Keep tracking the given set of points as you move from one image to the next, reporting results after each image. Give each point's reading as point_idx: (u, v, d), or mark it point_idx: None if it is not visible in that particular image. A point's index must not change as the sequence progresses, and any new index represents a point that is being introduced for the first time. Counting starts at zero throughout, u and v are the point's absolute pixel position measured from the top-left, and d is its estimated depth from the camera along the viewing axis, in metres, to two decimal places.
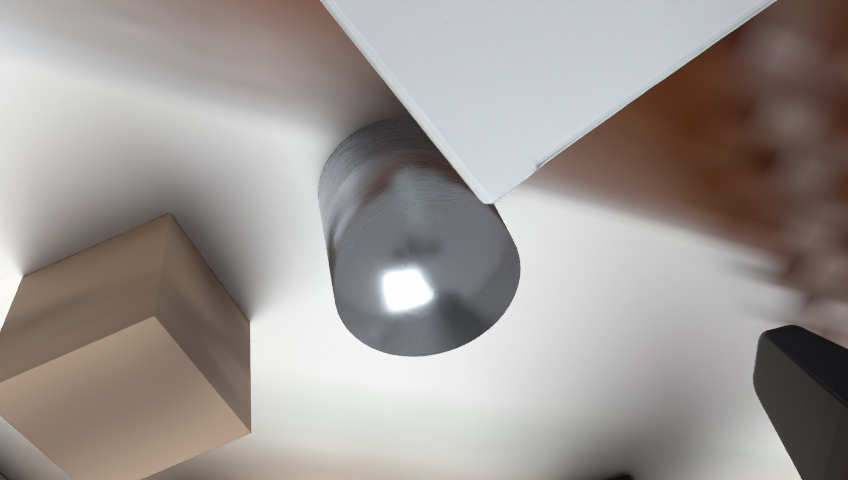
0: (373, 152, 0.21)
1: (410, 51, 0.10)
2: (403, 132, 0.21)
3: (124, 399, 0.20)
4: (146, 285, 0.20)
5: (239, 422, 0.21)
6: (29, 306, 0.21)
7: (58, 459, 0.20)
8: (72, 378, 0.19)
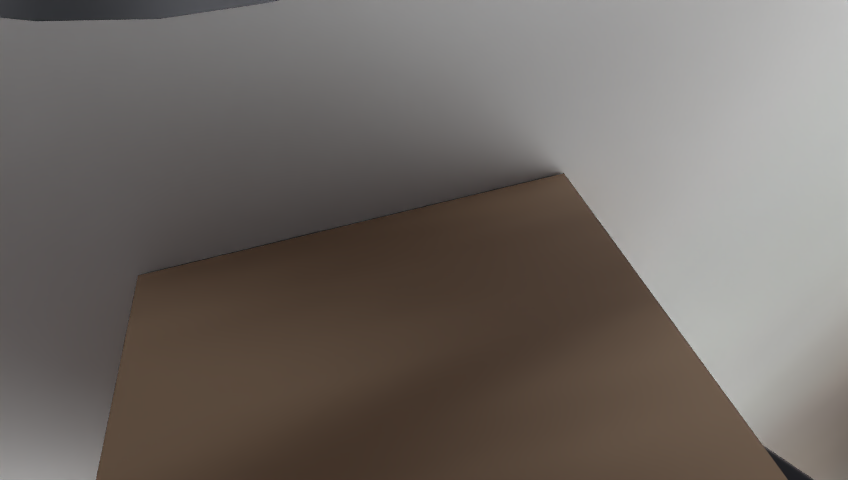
0: None
1: None
2: None
3: None
4: None
5: None
6: None
7: None
8: None
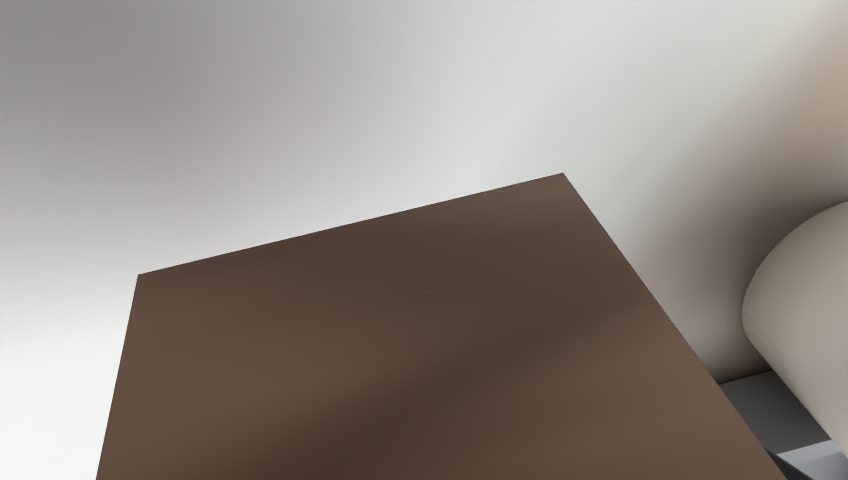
0: None
1: None
2: None
3: None
4: None
5: None
6: None
7: None
8: None
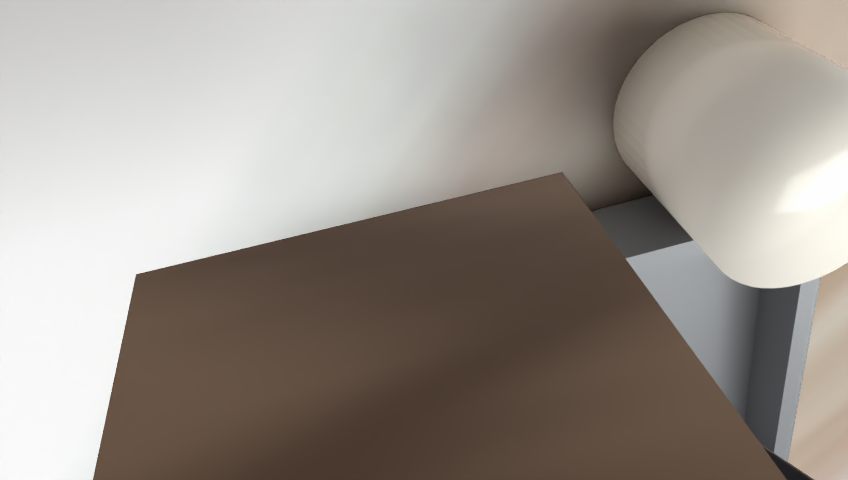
0: None
1: None
2: None
3: None
4: None
5: None
6: None
7: None
8: None
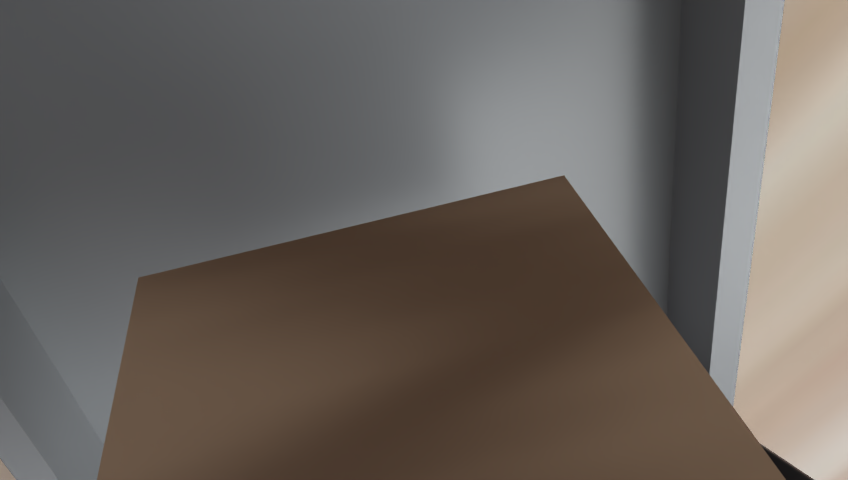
0: None
1: None
2: None
3: None
4: None
5: None
6: None
7: None
8: None
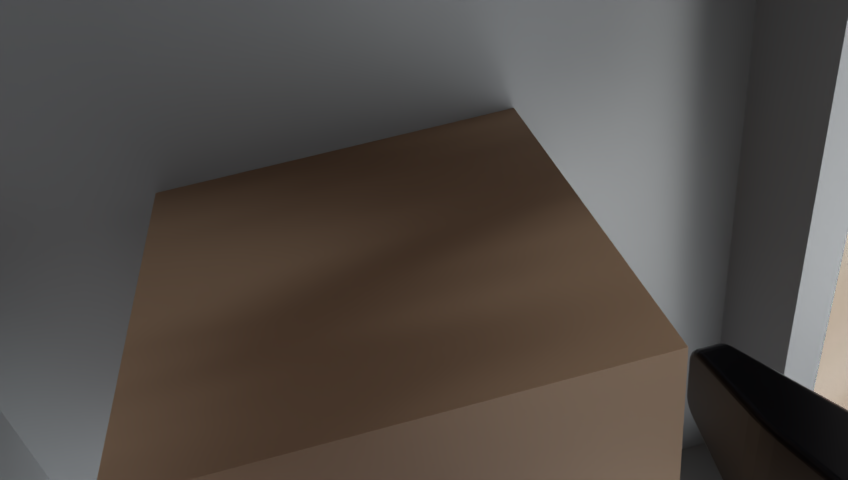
0: None
1: None
2: None
3: None
4: None
5: (625, 368, 0.06)
6: None
7: None
8: None
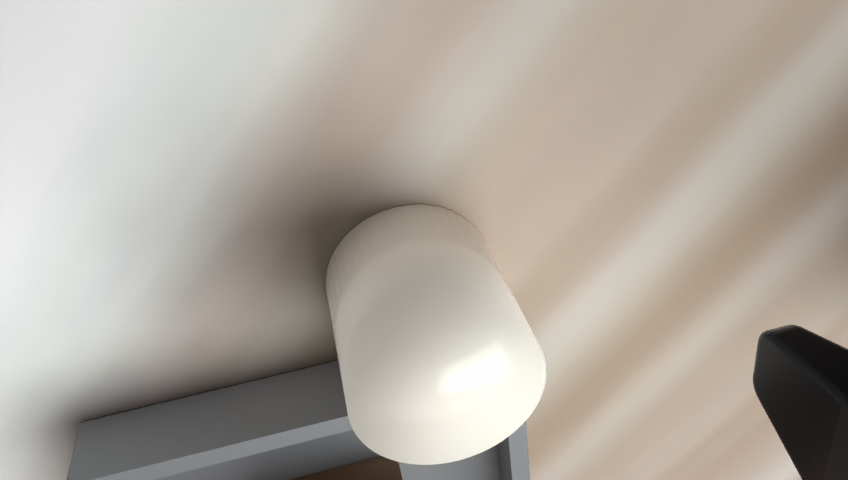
0: None
1: None
2: None
3: None
4: None
5: None
6: None
7: None
8: None
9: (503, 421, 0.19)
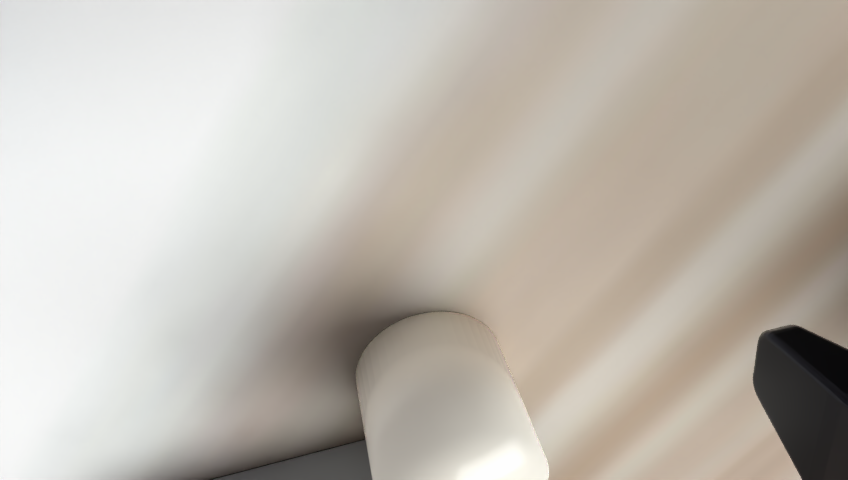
0: None
1: None
2: None
3: None
4: None
5: None
6: None
7: None
8: None
9: None
